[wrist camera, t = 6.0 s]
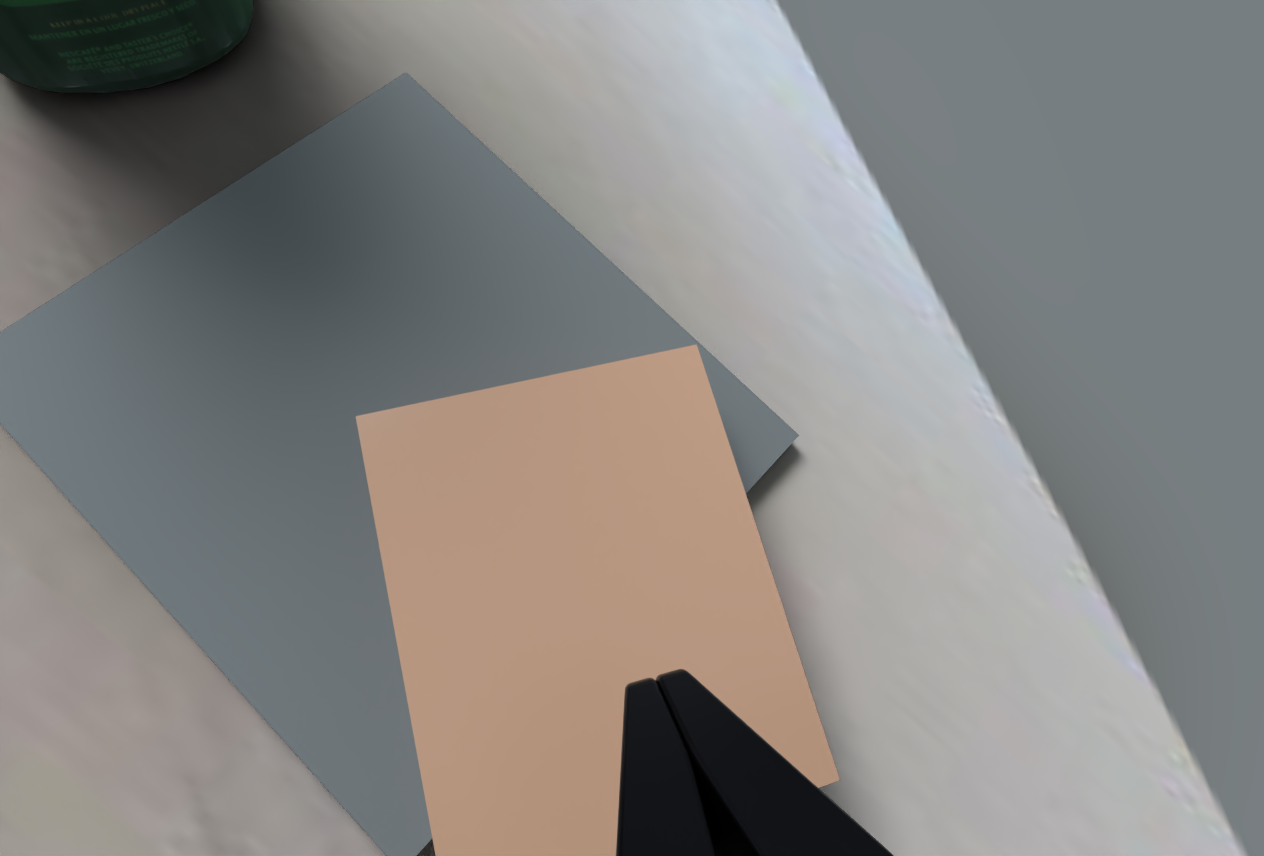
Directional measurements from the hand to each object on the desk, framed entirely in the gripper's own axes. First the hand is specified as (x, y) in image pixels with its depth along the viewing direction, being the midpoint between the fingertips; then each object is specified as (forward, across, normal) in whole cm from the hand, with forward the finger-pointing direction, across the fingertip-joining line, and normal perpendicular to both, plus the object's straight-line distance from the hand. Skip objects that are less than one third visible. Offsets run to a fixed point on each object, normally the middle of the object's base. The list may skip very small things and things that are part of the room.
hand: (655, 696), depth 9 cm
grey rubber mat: (+11, +3, 0) cm, 12 cm away
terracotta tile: (+2, 0, +7) cm, 7 cm away
